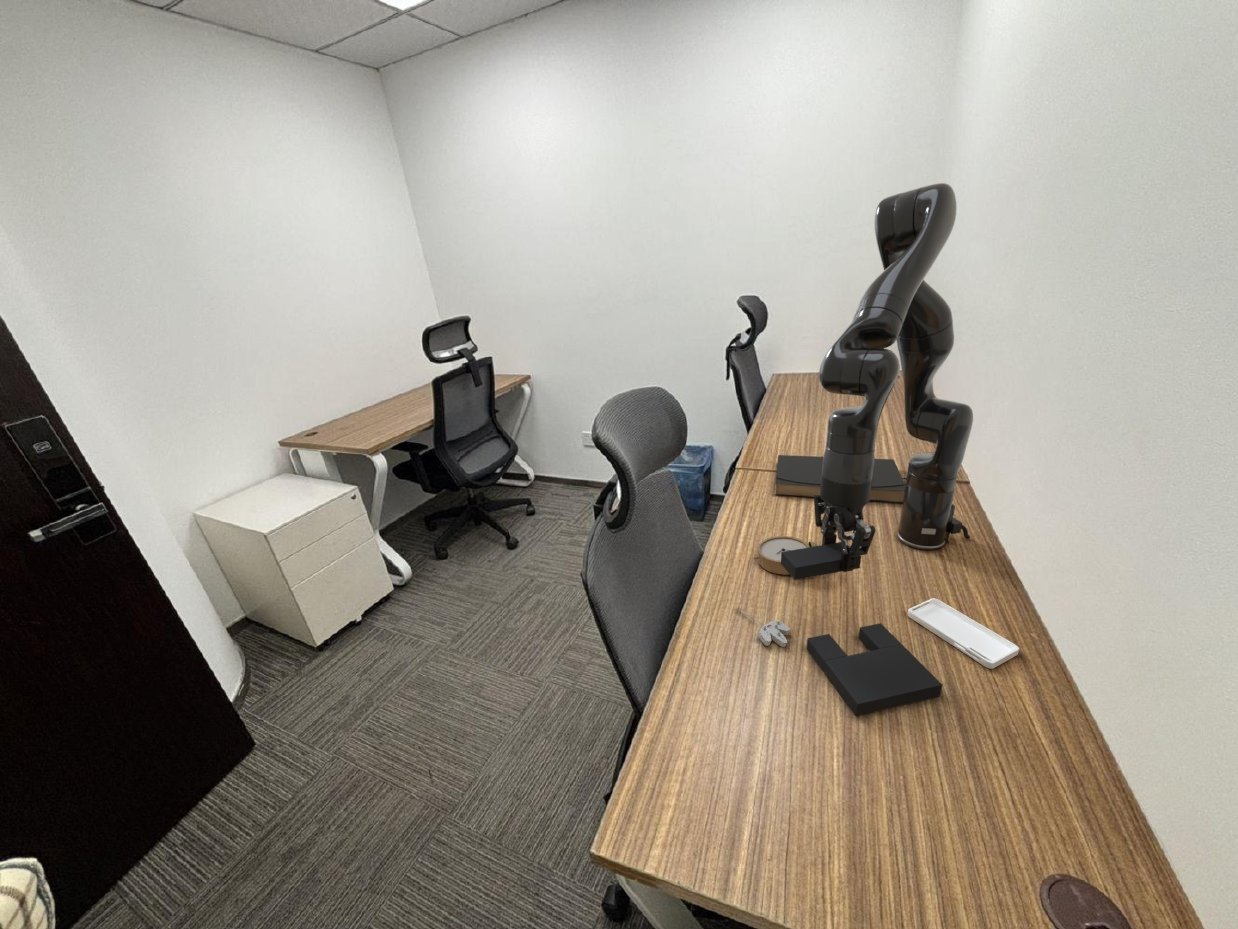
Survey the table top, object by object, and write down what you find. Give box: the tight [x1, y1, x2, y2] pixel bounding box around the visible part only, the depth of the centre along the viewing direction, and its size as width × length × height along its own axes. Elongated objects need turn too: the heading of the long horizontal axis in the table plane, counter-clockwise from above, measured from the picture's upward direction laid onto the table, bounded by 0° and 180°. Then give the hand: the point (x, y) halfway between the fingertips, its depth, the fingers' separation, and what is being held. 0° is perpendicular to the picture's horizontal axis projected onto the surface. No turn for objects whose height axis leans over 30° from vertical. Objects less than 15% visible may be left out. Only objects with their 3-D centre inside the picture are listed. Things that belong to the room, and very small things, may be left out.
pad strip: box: [781, 541, 862, 581], centre depth 84 cm, size 12×5×2 cm, turn 100°
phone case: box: [907, 597, 1020, 670], centre depth 85 cm, size 7×1×15 cm
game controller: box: [739, 609, 790, 648], centre depth 90 cm, size 6×12×3 cm, turn 49°
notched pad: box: [806, 622, 943, 717], centre depth 79 cm, size 14×14×2 cm
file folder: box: [774, 454, 906, 504], centre depth 143 cm, size 33×4×24 cm
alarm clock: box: [753, 535, 819, 576], centre depth 108 cm, size 11×5×15 cm
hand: (837, 561), depth 85 cm, fingers closed on pad strip, 5 cm apart
